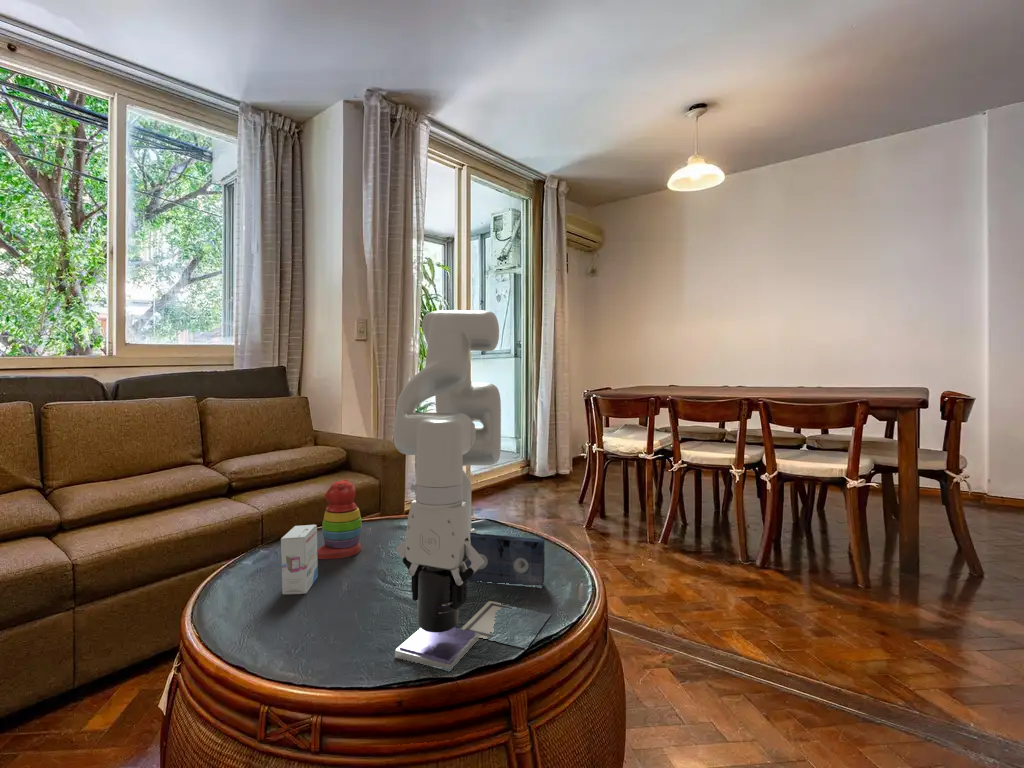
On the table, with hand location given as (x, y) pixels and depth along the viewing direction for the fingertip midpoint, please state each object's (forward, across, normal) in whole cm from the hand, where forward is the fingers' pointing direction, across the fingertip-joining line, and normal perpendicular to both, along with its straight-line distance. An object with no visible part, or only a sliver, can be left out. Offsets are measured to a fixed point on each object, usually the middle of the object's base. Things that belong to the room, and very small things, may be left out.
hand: (438, 600), depth 83 cm
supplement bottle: (+4, 0, 0) cm, 4 cm away
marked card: (+8, +7, +12) cm, 16 cm away
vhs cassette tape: (+8, -1, +28) cm, 29 cm away
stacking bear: (+8, -45, +28) cm, 54 cm away
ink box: (+8, -39, +9) cm, 41 cm away
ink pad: (+8, 0, 0) cm, 8 cm away
